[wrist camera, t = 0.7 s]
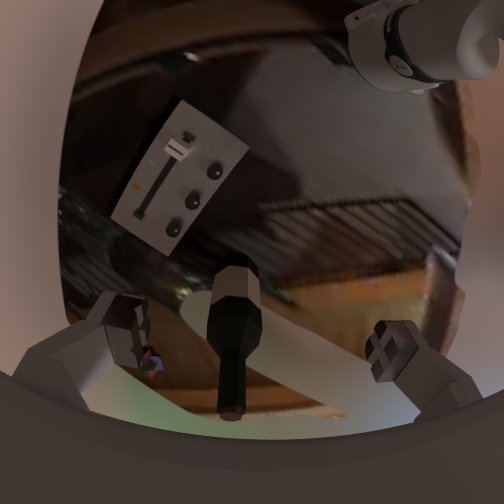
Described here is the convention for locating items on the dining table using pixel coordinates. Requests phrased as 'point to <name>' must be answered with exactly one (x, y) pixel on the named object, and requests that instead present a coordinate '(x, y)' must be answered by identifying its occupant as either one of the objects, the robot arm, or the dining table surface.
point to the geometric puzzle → (151, 364)
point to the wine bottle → (234, 329)
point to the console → (177, 178)
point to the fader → (178, 148)
